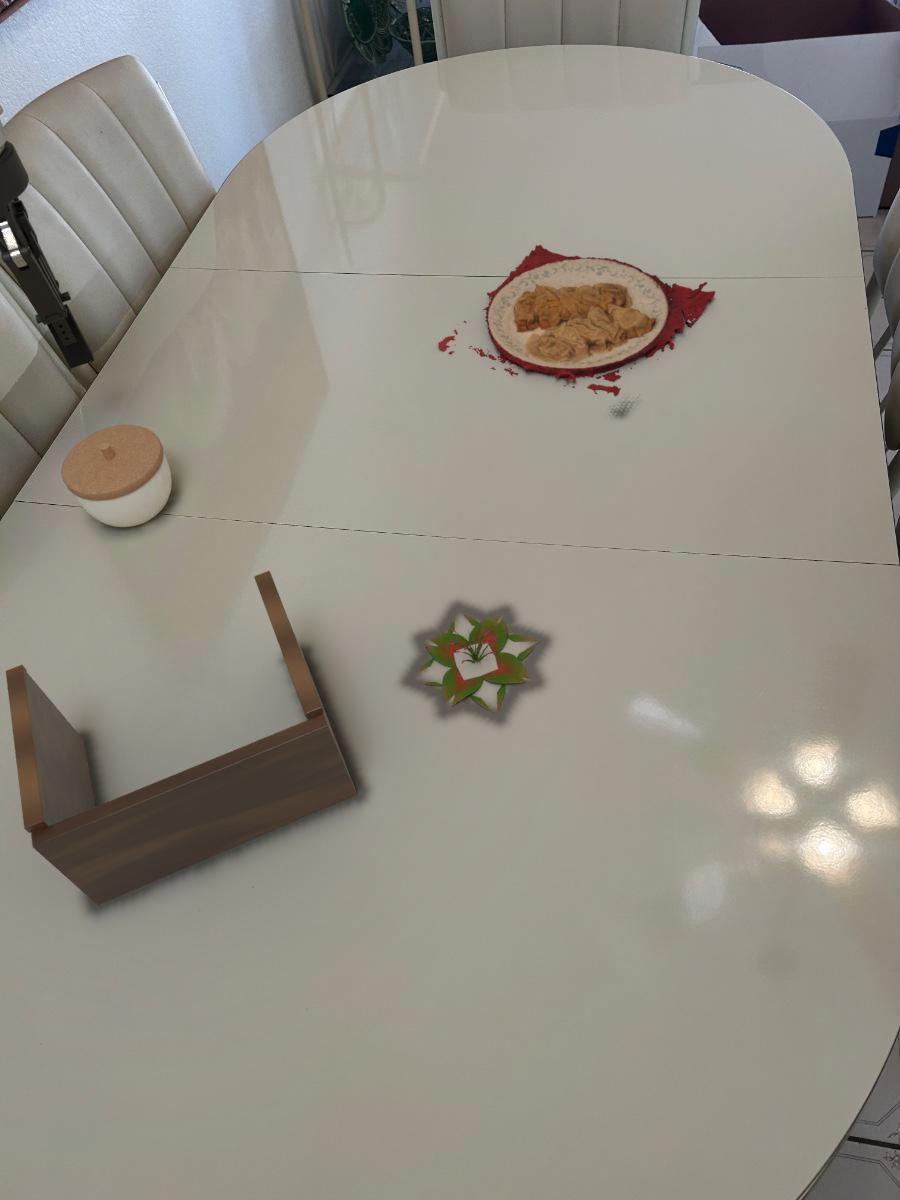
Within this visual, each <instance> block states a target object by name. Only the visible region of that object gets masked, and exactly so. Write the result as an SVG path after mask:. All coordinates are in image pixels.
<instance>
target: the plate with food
mask: <svg viewBox="0 0 900 1200" xmlns="http://www.w3.org/2000/svg"><path fill="white" fill-rule="evenodd" d="M534 247H535V248H534V249H531V251H530V252H529V254H528V255H525V257H524V258H523V260H522V262H521V263H520V264H519V265H517V266H516V267H515V270H510V272H509V276H508V277H507V278H506V279H505V280H504V281H503V282H502V283H501V284H500V285H499V286H498V287H497V288H495V289H494V290H493V291H490V292H486V295H487V296H488V299H490V301H489V303H488V306H486V307H484V308H483V309H482V310H481V312H482V313H483V311H485V314H486V316H485V317H484V318H485V320H484V321H485V322H486V324H487V325H488V326H487V330H488V331H487V333H488V335H489V337H490V340H491V341H492V343H493V345H494V346H495V348H496V349H497V350H498V351H500V354H499V355H498V356H497V358H495V356H494V355H492V353H491V354H489V353H490V350H489V349H488V348H486V351H488V352H486V353H485V351H484V349H483V348H480V347H479V348H478V347H474V348H473V346H472V345H469V346H468V349H469V350H470V349H471V348H472V350H473V351H475V352H476V354H477V355H478V356H480V357H481V358H482V357H483V358H488V359H490V360H492V361H496V360H498V362H500V363H501V364H506V363H507V361H508V362H510V363H509V366H510V367H508V368H507V367H506V368H504V369H503V370H504V371H505V372H508V374H510V376H513V377H514V378H516V376H519V372H515V371H513V369H515V365H517V366H518V367H520V368H523V370H526V371H525V372H526V373H528V372H527V371H531V372H533V373H541V374H544V375H549V376H554V378H555V379H558V378H559V377H564V381H566V382H568V381H570V380H572V381H573V382H575V381H576V380H577V379H579V378H581V377H582V378H583V379H585V377H590V378H595V379H601V378H603V379H604V380H606V381H610V382H614V381H617V380H620V378H621V377H622V375H620V374H618V373H620V368H623V367H624V366H625V365H626V364H628V363H632V362H633V361H636V360H638V359H640V358H642V357H644V356H646V357H645V359H649V358H652V357H654V356H655V354H656V352H657V351H658V350H660V351H661V352H662V353H665V349H666V347H665V345H667V344H668V343H669V350H671V351H673V349H674V347H675V342H673V341H672V340H671V337H672V336H674V335H675V334H676V332H682V331H683V330H684V328H685V324H684V322H685V323H686V324H687V325H688V326H689V327H693V325H694V324H695V323H696V321H697V320H698V319H699V317H700V316H701V315H702V314H703V312H704V310H705V308H706V305H707V303H708V302H711V301H713V299H714V297H715V295H716V291H715V290H713V291H712V290H709V291H705V290H702V289H703V288H704V287H705V286H707V284H708V282H707V281H705V282H703V283H700V284H698V288H695V289H693V288H691V287H686V286H683V285H679V284H677V283H672V284H671V285H670V284H668V282H665V283H664V281H662V280H661V279H660V278H659V277H658V276H657V274H654V275H653V274H649V273H648V272H645V271H643V270H642V269H641V268H639V267H637V266H635V265H632V264H630V263H627V262H625V261H619V260H617V259H616V258H609V257H608V258H607V257H604V258H603V257H593V256H592V257H591V256H588V257H581V256H579V255H573V256H571V255H570V256H568V255H563V254H560V253H558V252H557V253H556V252H552V251H550V250H548V249H547V248H544V247H543V245H541V244H538V245H537V244H536V245H535V246H534ZM463 323H465V324H467V321H466V320H463ZM458 325H459V324H458ZM453 331H454V334H455V335H448V336H445V337H444V338H443V340H441V341H438V345H437V347H438V349H440V350H441V351H442V352H443V353H445V352H446V351H447V350H448V348H449V349H450V348H451V346H450V345H449V344H448V343H450V342H451V341H456V340H457V339H456V338H455V337H456V336H457V335H458V334H459V332H458V331H457V329H453ZM447 344H448V345H447ZM454 346H457V345H456V344H454ZM661 352H660V353H661ZM453 353H455V351H454V350H451V351H449V352H448V354H450V355H452V354H453ZM656 360H657V361H659V358H657V359H656ZM511 365H514V366H511ZM633 365H636V362H634V363H633ZM512 368H513V369H512ZM520 368H519V369H520ZM491 369H493V370H495V371H496V368H495V367H494V366H491ZM629 369H630V370H633V367H629ZM599 374H601V375H599ZM595 375H598V376H595ZM563 387H566V384H564V385H563ZM571 388H572V389H575V388H576V387H575V386H574V385H572V386H571ZM586 388H587V389H589V390H591V391H593V392H594V395H598V392H596V390H603V391H606V392H607V393H606V394H607V395H608V394H610V393H612V394H613V397H618V395H619V394H620V391H621V390H622V388H621V387H618V386H617V385H613V386H610V385H609V386H607V385H603V384H597V383H596V384H595V383H590V384H589V385H588V386H587V387H586Z"/></svg>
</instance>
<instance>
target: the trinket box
mask: <svg viewBox="0 0 900 1200" xmlns="http://www.w3.org/2000/svg"><path fill="white" fill-rule="evenodd" d="M163 447H164V446H163V444H162V442H161V440H160V438H159V437H158V435H157V434H156V433H155V432H154V431H152V430H150V429H148V428H147V427H144V426H141V425H135V424H121V425H114V426H110V427H105V428H103V429H100V430H98V431H95V432H94V433H91V434H89V435H88V436H85V437H84V438H83V439H81V440H80V441H79V442H78V443H76V445H74V446H73V447H72V448H71V450H70V451H69V452H68V453H67V455H66V456H65V458H64V460H63V463H62V466H61V479H62V481H63V483H64V485H65V487H66V488H67V489H68V490H69V492H70V493H71V494H72V495H73V497H74V499H75V500H76V502H77V504H79V506H80V507H81V508H82V509H83V510H84V511H85V512H86V513H87V514H89V516H91V518H93V519H95V520H97V521H98V522H100V523H102V524H105V525H107V526H110V527H111V526H112V527H117V528H129V527H136V526H140V525H142V524H145V523H147V522H148V521H149V522H150V520H152V519H154V518H155V517H156V516H157V515H158V514H159V513H161V511H162V510H163V509H164V507H165V506H166V504H167V502H168V500H169V499H170V497H171V496H170V495H171V491H172V483H173V480H172V473H171V467H170V464H169V460H168V458H167V456H166V453H165V451H164V448H163Z"/></svg>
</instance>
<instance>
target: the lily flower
mask: <svg viewBox="0 0 900 1200" xmlns="http://www.w3.org/2000/svg"><path fill="white" fill-rule="evenodd" d="M463 616H464V620H465V621H468V622H469V623H470V625H471V626H473V628H472V629H471V631H470V632H469V634H468V635H469V636H468V639H467V638H466V637H465V636H463V635H461V634H459V633H458V632H457V631H456V617H455V615H454V617H453V619H452V621H450V624H449V626H448V630H447V632H445V633H441V634H438V635H434V636H433V637H431V638H430V639H429V641H430V642H431V643H433V644H434V645H432V644H431V645H430V644H424V646H425V647H426V648H427V651H428V652H429V654H430V655H431V656H432V657H433V658H431V659H429V660H428V661H426V662H425V663H424V664H423V665H422V667H421V668H420V669H419V670H418V672H417V674H419V673H421V672H423V671H425V670H427V669H428V668H431V667H432V665H433V663H434V662H435V660H436V661H437V662H438V663H440V664H442V665H443V666H446V667H448V668H449V667H450V668H449V669H448V670H447V671H445V673H444V675H443V677H442V680H441V681H442V682H441V683H439V682H438V681H427V682H424V684H425V685H428V686H434V687H442V688H441V689H442V695H443V701H444V702H445V703H446V704H447V703H448V702H450V700H451V699H452V698H453V700H452V703H451V706H450V707H453V706H455V705H457V703H458V702H461V701H462V700H465V698H467V697H468V696H469V697H470V699H471V700H472V701H473V702H475V703H476V704H478V705H479V706H480V707H482V708H484V709H485V710H487V711H490V712H492V710H491V708H490V707H489V705H487V703H486V702H485V701H484V700H483V698H482V697H480V696H476V695H473V693H475V692H476V691H477V690H478V689H479V688H480V687H481V686H482V684H483V682H484V680H485V682H489V683H493V684H500V687H499V688H498V689H497V692H496V705H497V706H496V710H497V711H496V712H497V715H499V713H498V712H499V710H500V708H501V703H502V702H503V700H504V696H505V693H506V685H507V684H523V683H530V682H528V681H527V680H531V676H530V675H529V673H528V672H527V671H526V667H525V666H524V664H523V662H522V661H523V660H524V659H525V658H526V657H527V656H528V655H529V654H530V653H531V652H532V651H533V650H534V648H535V647H536V645H538V644H539V643H540V642H542V640H541V639H535V638H532V637H528V638H527V636H524V635H521V634H508V629H507V623H506V621H505V620H504V618H505V617H504V616H503V617H502V619H500V618H501V616H499V615H498V616H494V617H492V618H486V619H485V618H484V617H483V618H482V620H481V621H480V622H479V621H478V620H476V619H475V618H473V616H472V617H471V616H469V615H467V614H464V613H463ZM499 620H500V621H499ZM467 631H469V629H468V628H467ZM507 640H509V641H511V642H514V643H525V642H535V643H534V644H532V645H530V646H529V647H527V648H526V649H524V650H523V651H521V652H520V653H518V654H517V656H516V655H514V654H512V653H510V652H505V651H504V652H503V651H501V650H502V649H503V648H504V646H505V644H506V642H507ZM483 645H486V646H485V647H484V649H483V650H482V648H483ZM488 647H489V648H490V652H487V653H485V652H486V650H487V648H488ZM460 650H463V651H460ZM466 650H467V651H468V652H466ZM481 650H482V652H481ZM480 652H481V653H480ZM458 653H463V654H465V655H467V656H469V657H470V658H471V659H463V660H462V661H461V662H460V664H464V663H465V662H470V663H472V664H475V663H476V664H480V665H481V664H482V663H481V661H482V660H484V658H485V657H487V656H488V655H491V654H492V655H493V656H494V658H495V663H496V667H497V669H494V670H492V671H489V672H487V673H484V674H481V675H479V676H475V677H471V678H467V679H464V677H463V675H462V673H461V671H460V669H459V668H458V666H457V663H456V658H455V654H458ZM525 679H526V680H525ZM492 714H493V715H495V713H494V712H492Z"/></svg>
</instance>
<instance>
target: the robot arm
mask: <svg viewBox="0 0 900 1200" xmlns="http://www.w3.org/2000/svg"><path fill="white" fill-rule="evenodd" d="M3 113H4V109H3V106H2V105H1V104H0V115H2V114H3ZM29 182H30V177H29V174H28V171H27V170H26V168H25V166H24V164H23V162H22V159H21V158H20V156H19V154H18V152H17V149H16V147H15V146H14V144H13V143H12V142H10V141H8V133H7V131H6V129H5V127H4V125H3V123H2V120H0V253H1V255H0V256H1V260H2V262H3V263H4V264H5V265H6V267H7V268H8V269H9V271H10V272H11V273H12V274H13V276H14V278H15V280H16V282H17V283H18V284H19V286H20V288H21V290H22V291H23V293H24V295H25V296H26V297H27V300H28V301H29V302H30V304H31V306H32V308H33V309H34V311H35V313H36V314H35V315H34V316H35V321H36V323H37V324H38V325H40V324H42V325H44V326H47V328H48V330H49V332H50V333H51V335H52V337H53V339H54V341H55V343H56V344H57V346H58V348H59V350H60V351H61V353H62V355H63V357H64V359H65V361H66V363H67V364H68V367H69V368H70V369H75V368H77V367H80V366H82V365H86V364H89V363H92V362H95V358H94V355H93V352H92V350H91V348H90V346H89V344H88V342H87V341H86V339H85V336H84V335H83V331H81V328H80V326H79V325H78V323H77V321H76V319H75V317H74V315H73V313H72V311H71V309H70V307H69V306H68V304H67V303H66V302H69V301H72V297H71V294H70V292H69V291H65V292H61V290H60V282H59V280H57V279H56V276H55V274H54V273H53V270H52V268H51V266H50V264H49V262H48V260H47V258H46V255H45V254H44V252H43V250H42V248H41V246H40V243H39V239H38V236H37V233H36V231H35V229H34V227H33V225H32V224H31V222H30V219H29V214H28V210H27V208H26V205H25V204H24V203H23V200H22V199H19V197H20V196H21V195H22V194H24V192H25V191H26V190H27V188H28V186H29ZM64 303H65V304H64Z"/></svg>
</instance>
